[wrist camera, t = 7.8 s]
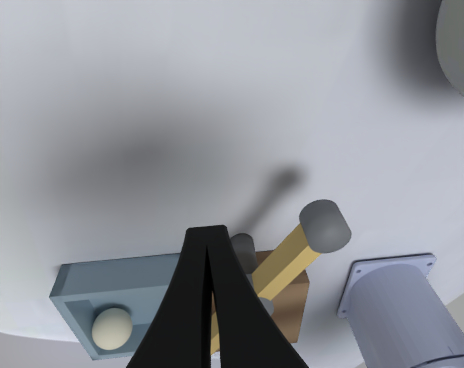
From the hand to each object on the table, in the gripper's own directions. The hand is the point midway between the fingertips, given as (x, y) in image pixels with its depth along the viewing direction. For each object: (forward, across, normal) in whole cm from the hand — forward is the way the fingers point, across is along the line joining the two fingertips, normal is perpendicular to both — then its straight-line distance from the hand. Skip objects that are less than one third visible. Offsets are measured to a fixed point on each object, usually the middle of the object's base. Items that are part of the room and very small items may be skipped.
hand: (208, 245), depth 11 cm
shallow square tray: (+10, +7, +18) cm, 21 cm away
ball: (+10, +10, +19) cm, 23 cm away
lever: (+6, -2, +11) cm, 13 cm away
